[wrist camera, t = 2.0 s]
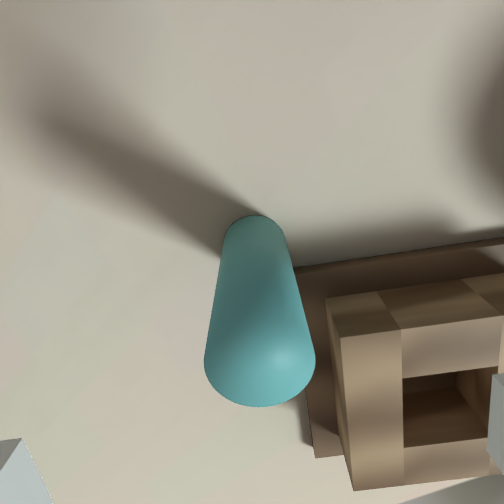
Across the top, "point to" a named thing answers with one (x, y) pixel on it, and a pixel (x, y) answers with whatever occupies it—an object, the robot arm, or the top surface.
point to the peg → (257, 319)
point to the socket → (406, 361)
